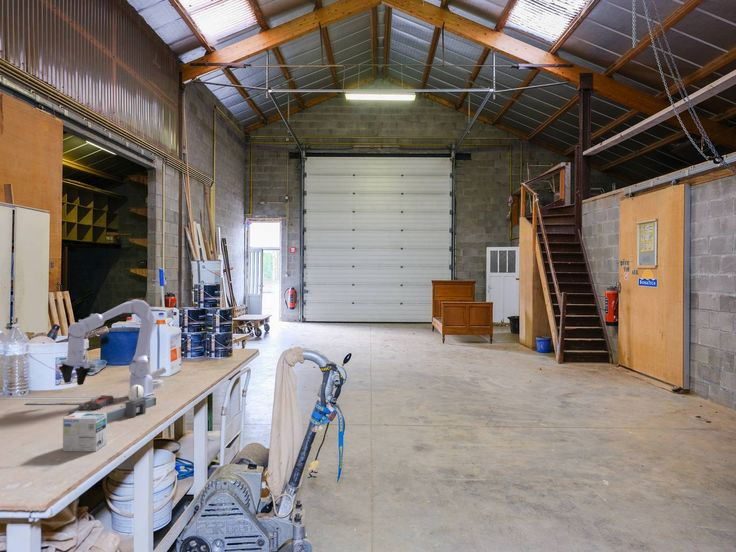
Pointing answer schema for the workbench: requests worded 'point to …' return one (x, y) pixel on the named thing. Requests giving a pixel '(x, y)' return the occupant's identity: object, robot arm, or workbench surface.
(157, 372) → the wall hook
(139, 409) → the gauge plunger
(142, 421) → the workbench surface
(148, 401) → the centring jig
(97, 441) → the light bulb box
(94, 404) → the walkie-talkie
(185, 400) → the workbench surface
